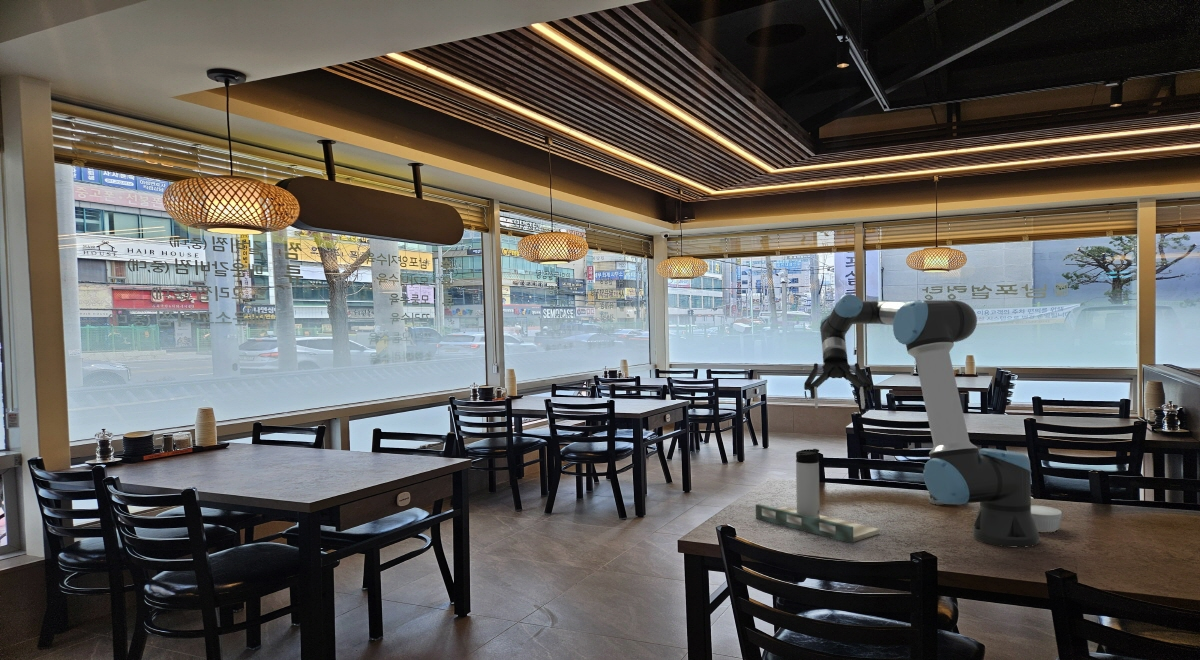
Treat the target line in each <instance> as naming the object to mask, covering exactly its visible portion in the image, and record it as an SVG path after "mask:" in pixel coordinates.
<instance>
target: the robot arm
mask: <svg viewBox="0 0 1200 660" xmlns="http://www.w3.org/2000/svg"><path fill="white" fill-rule="evenodd" d="M977 323H978V316H977V314H976V312H975V310H974V309H973V307H972V306H970V305H969V304H967V303H966V302H963V301H960V300H957V299H956V300H955V299H952V300H951V299H949V300H948V299H947V300H942V299H941V300H937V299H935V300H932V299H931V300H930V299H929V300H924V299H918V300H913V301H912V300H911V301H906V302H902V301H893V300H887V299H886V300H885V299H884V300H862V299H861V298H859V297H858V296H856V295H853V294H851V293H845V294H842V296H840V298H839V299H838V301H837V302H836V303H835V304H834V307H833V309H832V311H831V313H830V314H827V315H825V316H824V317H823V318H821V320H820V327H819V331H820V338H821V350H822V352H821V353H822V362H823V364H822V365H819V364H818V363H817V362H814V364H813V369H812V370H811V372H810V374H809V375H808V377H807V378H806V380H805V381H804V384H803V385H804V386H803V389H804V390H805V391H807V390H808V391H809V392H810V399H813V400H814V409H819V408H818V407H819V399H818V396H819V395H818V388H819V387H820V386H821V385H822V384H823V383H824V382H826V381H828V380H829V379H830V378H831V379H842V378H843V379H845V380H846V381H848V382H849V383H851V384H853V385H854V386H855V387H856V388H858V389H859V397H860V399H859V400H860V405H861V406H860V407H861V410H865V407H866V403H865V402H866V401H865V400H867V399H868V391H872V390H873V383H872V381H871V380H870V378H869V377H868V376H867V374H865V372H863V370H862V369H861V368H860V365H859V364H860V363H857V362H855V363H854V365H850V364H849V360H848V353H847V345H846V344H847V342H846V334H847V333H848V331H849V330H850V328H851V327H852V325H869V324H870V325H872V324H873V325H875V324H876V325H886V326H887V325H888V326H892V330H893V331H892V332H893V335H894V338H895V340H896V341H897V342H898V343H899V344H902V345H905V346H906V351H907V354H908V355H910V356H912V357H913V358H914V360H915V365H916V369H917V373H918V378H919V382H920V388H921V391H922V397H923V402H924V407H925V410H926V416H927V420H928V425H929V430H930V435H931V438H932V439H931V440H932V443H933V447H932V449H931V450H930V451H929V453H928V455H929V460H927V462H926V463H925V464H924V466H923V467H924V469H923V474H922V475H923V480H924V483H925V486H926V488H927V490H928V493H929V492H930V493H931V494H932V496H933V497H935V498H936V499H937V500H936V501H940V502H942V503H945V505H964V504H974V503H979V510H978V512H977V515H976V519H975V520H974V522H973V523H974V524H973V526H972V536H974V537H973V538H974V539H976V540H977V539H978V540H977V541H979V540H980V542H982V541H983V543H985V542H986V543H985V544H988V543H989V545H993V544H994V546H998V545H1002V546H1001V547H1005V546H1017V547H1016V548H1018V547H1022V548H1026V547H1025V546H1032V545H1036V544H1038V543H1039V544H1040V533H1038V530H1037V527H1036V524H1035V522H1034V519H1033V516H1032V514H1031V505H1032V499H1031V498H1032V469H1031V460H1030V458H1029V456H1027V455H1026V454H1023V453H1021V452H1020V453H1019V452H1017V451H1016V452H1014V451H1010V450H1009V451H1008V450H1003V449H995V448H980V449H979V447H978V446H976V444H973V443H972V442H971V441H970V437H969V432H968V428H967V423H966V420H965V415H964V411H963V407H962V402H961V398H960V394H959V389H958V386H957V385H958V384H957V381H956V376H955V372H954V367H953V364H952V359H951V353H950V352H951V350H952V349H953V347H954V345H955V344H954V343H958V342H961V341H964V340H966V339H968V338H969V337H970V336H971V335H972V334H973V333H974V332H975V330H976V329H977ZM821 371H823V372H822V373H821V375H819V376H818V377H817V378H816V376H817V375H818V373H820V372H821ZM852 372H853V373H854V374H855V375H856V376H855V375H854V374H853V373H852ZM815 378H816V379H815ZM1039 544H1038V545H1039ZM1036 546H1037V545H1036Z"/></svg>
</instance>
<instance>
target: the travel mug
mask: <svg viewBox="0 0 1200 660" xmlns="http://www.w3.org/2000/svg"><path fill="white" fill-rule="evenodd" d="M819 452H820V449H818V448H813V449H812V448H811V449H809V448H808V449H801V450H797V451H796V452H795V477H796V478H795V480H796V481H795V482H796V484H795V485H796V486H795V487H796V488H795V489H796V509H797V513H798V514H802V515H807V516H811V517H815V518H819V519H820V515H821V514H820V508H821V507H820V465H819V464H820V461H819Z"/></svg>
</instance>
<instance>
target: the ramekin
mask: <svg viewBox="0 0 1200 660" xmlns="http://www.w3.org/2000/svg"><path fill="white" fill-rule="evenodd" d="M1031 514H1032V516H1033V519H1034V522H1035V524H1036V527H1037V530H1038V531H1046V532H1047V531H1056V530H1058V529H1059V530H1060V525H1061V521H1062V517H1063V512H1062V511H1061V510H1060V509H1057V508H1055V507H1050V506H1045V505H1036V504H1035V505H1033V504H1031ZM1059 530H1058V531H1059Z"/></svg>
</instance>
